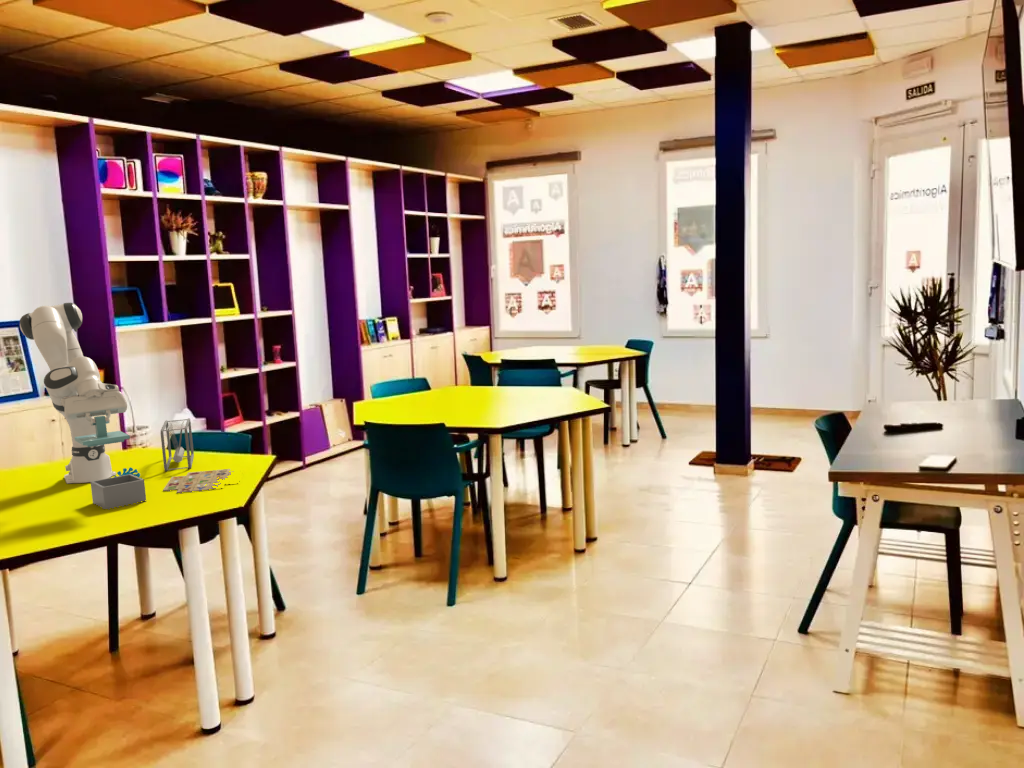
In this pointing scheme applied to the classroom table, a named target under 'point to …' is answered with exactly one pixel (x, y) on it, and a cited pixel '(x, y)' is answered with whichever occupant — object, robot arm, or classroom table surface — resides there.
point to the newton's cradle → (179, 451)
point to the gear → (129, 472)
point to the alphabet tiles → (196, 481)
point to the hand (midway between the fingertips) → (100, 423)
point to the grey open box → (118, 491)
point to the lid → (102, 435)
